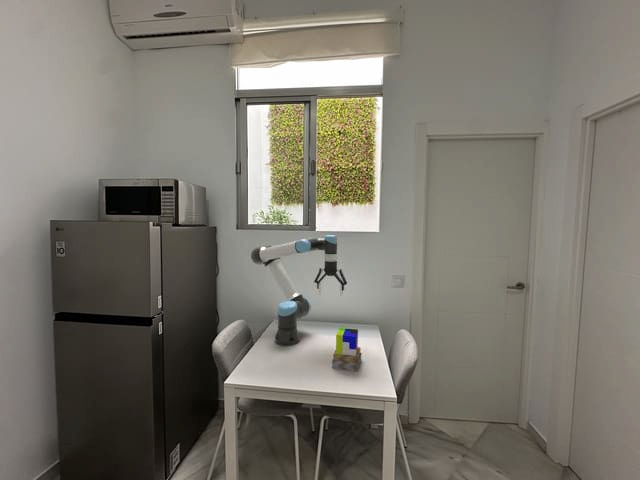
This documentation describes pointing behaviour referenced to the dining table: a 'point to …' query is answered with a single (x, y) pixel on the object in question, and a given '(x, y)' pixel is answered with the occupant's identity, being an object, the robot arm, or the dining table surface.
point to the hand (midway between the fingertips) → (330, 295)
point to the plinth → (346, 365)
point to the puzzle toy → (347, 341)
